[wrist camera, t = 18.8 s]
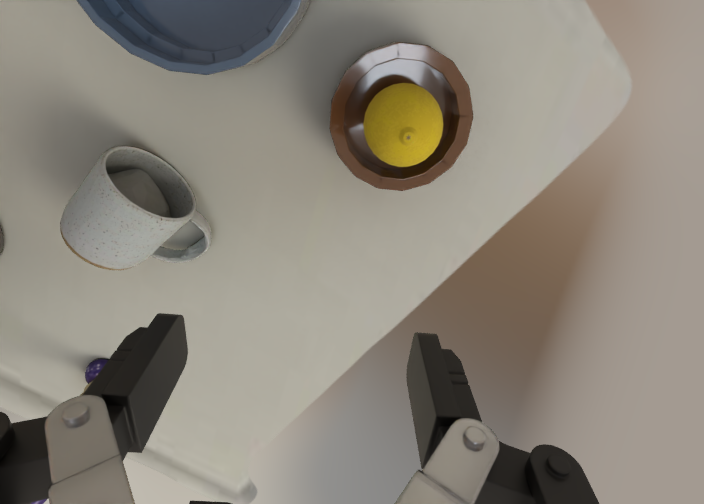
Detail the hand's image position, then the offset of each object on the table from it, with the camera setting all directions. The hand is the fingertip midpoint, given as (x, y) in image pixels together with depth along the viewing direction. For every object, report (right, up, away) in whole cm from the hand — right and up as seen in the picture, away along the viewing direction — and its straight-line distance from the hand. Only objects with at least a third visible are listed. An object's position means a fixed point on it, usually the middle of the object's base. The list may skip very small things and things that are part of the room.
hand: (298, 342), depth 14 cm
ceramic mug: (-15, +8, +23) cm, 28 cm away
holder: (+6, +14, +19) cm, 24 cm away
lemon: (+6, +14, +18) cm, 24 cm away
